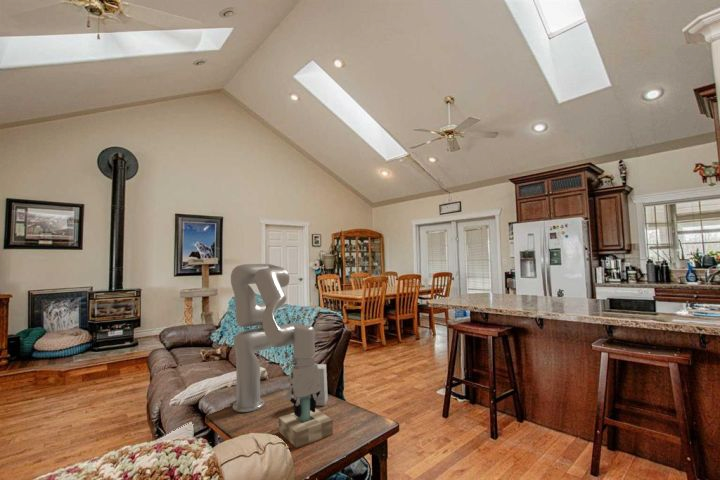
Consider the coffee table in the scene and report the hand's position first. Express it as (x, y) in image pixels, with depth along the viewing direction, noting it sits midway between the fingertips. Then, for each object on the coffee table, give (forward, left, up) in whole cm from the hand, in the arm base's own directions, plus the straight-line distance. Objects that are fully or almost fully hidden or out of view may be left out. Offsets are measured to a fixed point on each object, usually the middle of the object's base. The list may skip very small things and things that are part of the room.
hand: (305, 412), depth 123 cm
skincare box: (-20, +16, -7) cm, 27 cm away
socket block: (0, 0, -7) cm, 7 cm away
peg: (0, 0, -7) cm, 7 cm away
